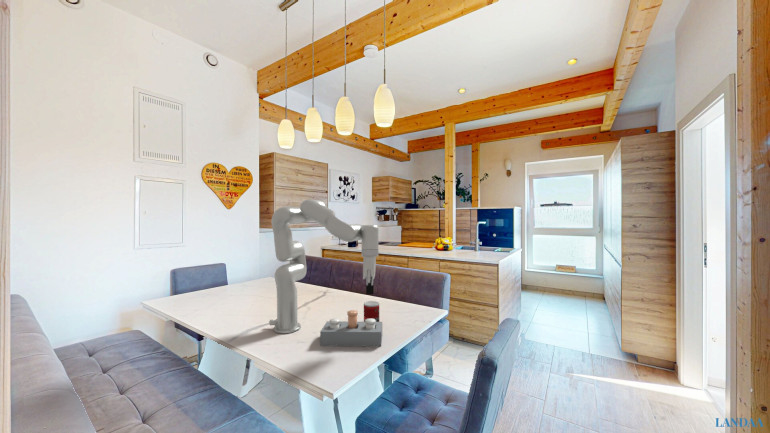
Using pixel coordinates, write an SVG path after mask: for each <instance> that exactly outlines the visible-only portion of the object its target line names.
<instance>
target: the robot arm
mask: <svg viewBox="0 0 770 433" xmlns="http://www.w3.org/2000/svg"><path fill="white" fill-rule="evenodd" d="M272 214H273V215H272V216H271V228H272V231H273V239H274V240H273V243H274V250H275V251H274V252H275V257H276V260H278V262H281V263H286V262H289V263H286V264H283V265H282V264H281V265H280V266H279V267H277V269H275V272H274V282H275V285H276V319H269V322H268V323H269V326H274V327H273V331H274V333H276V334H290V333H294V332H297V331H299V330H300V329H301V328H302V327H301V326H302V324H301V323H300V322H298V290H297V286H296V284H295V283H296V282H298V281H301V280H303V279H304V278H305V277H306V275H307V269H308V267H307V260H306V259H307V258H306V251H305V247H304V246H303V244H302V243H301V242H300V241H297V240H293V232H292V230H291V227H289V225H295V224H296V225H297V224H303V223H307V222H311V221H313V222H315V223H317V224H319V225H321V226H322V227H324V229H325V230H326V231H327V232H328V233H329V234H331V235H332V236H334V237H335V238H337V239H339V240H341V241H343V242H348V243H353V242H356V241H361V257H363V261H362V262H363V263H362V280H366V281H365V282H366V283H365V284H366V285H365V287H366V288H365V294H366V295H374V292H375V291H374V289H375V287H374V285H375V284H374V280H375V277H376V268H377V267H376V266H377V263H376V262H377V260H376V259H377V257H379V226H378V225H376V224H359V223H355V224H354V223H353V224H349V223H346V222H345V221H343V220H341V219H339V218H338V217H336V212H335V211H334V210H333V209H332V208H331V209H330V208H328V206H326V204H325V203H324V202H323V201H322V200H319V199H305V200H303V201H302V202H301V203H300V206H281V207H279V208H278V209H276V210H275V211H274V212H273V213H272Z"/></svg>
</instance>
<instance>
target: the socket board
mask: <svg viewBox="0 0 770 433" xmlns="http://www.w3.org/2000/svg"><path fill="white" fill-rule="evenodd" d="M319 333H320V334H319V336H320V337H319V340H320V341H319V342H320V346H323V347H324V346H325V347H326V346H327V347H330V346H331V347H332V346H334V347H382V341H383V321H379V322H376V323H375V329H366V323H365V322H364V321H357V329H348V321H341V320H340V323H339V329H332V328H330V320H329V321H327V320H326V322H325V324H324V325H323V326H322V328H321V330H320V331H319Z"/></svg>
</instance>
